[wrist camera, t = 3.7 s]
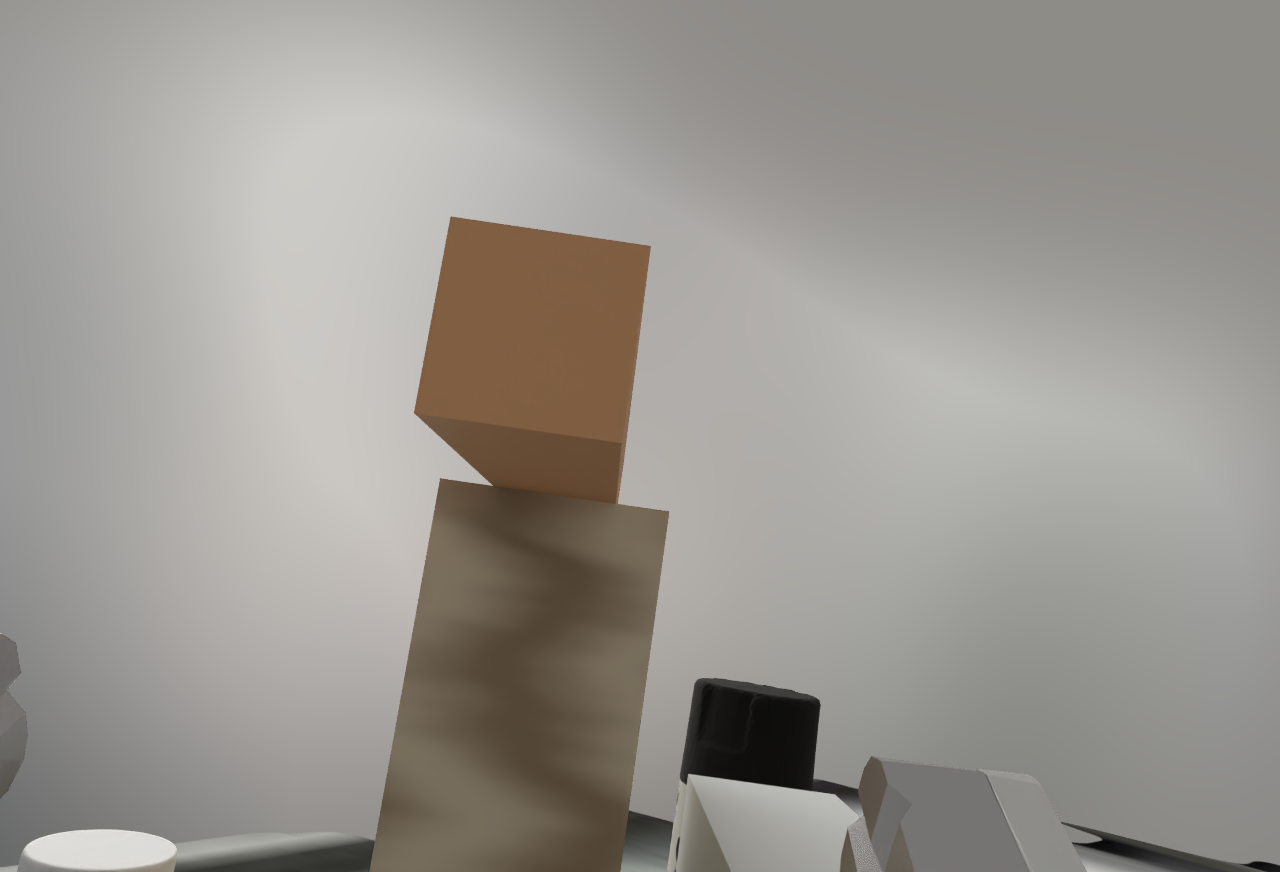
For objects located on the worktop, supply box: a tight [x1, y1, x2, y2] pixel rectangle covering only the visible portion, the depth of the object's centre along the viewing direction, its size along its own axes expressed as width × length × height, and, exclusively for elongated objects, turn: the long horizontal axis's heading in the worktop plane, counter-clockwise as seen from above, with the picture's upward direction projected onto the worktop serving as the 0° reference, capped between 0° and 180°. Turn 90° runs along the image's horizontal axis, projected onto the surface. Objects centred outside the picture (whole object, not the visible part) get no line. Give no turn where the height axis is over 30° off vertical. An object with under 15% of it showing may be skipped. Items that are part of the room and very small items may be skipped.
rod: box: [414, 217, 651, 504], centre depth 27 cm, size 3×26×3 cm, turn 2°
